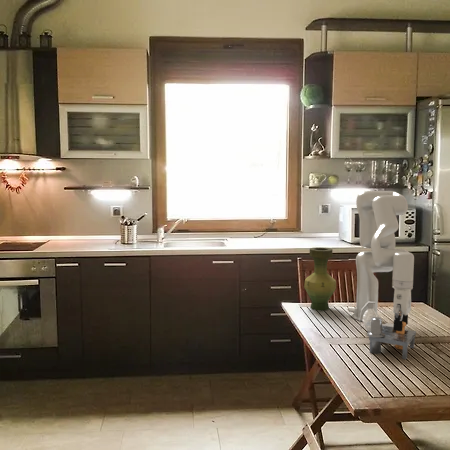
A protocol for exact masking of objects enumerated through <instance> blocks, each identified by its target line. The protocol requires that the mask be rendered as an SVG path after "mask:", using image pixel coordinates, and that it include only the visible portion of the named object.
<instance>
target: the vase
mask: <svg viewBox="0 0 450 450" xmlns="http://www.w3.org/2000/svg"><path fill="white" fill-rule="evenodd" d="M309 257H312V259H313V263H314V267H313V269H314V272H313V273H311V274H310V275H309V276H307V277H306V278H305V280H304V284H303V285H304V286H303V288H304V290H305V291H306V293H307V295H308V297H309V299H310V301H311V303H310V307H309V308H310V309H311V310H314V311H321V312H322V311H328V310H329V309H330V305H329V300H330V299H331V297H333V294H334V293H335V291H336V289H337V280H336V279H335V278H333V277H332V276H331V275H330V274H329V273H328V270H327V269H328V261H329V259H330V258H332V257H333V248H330V247H316V246H315V247H310V248H309Z"/></svg>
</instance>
